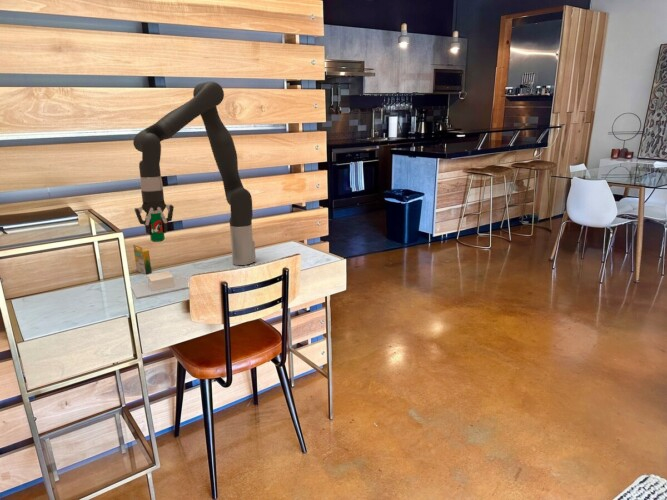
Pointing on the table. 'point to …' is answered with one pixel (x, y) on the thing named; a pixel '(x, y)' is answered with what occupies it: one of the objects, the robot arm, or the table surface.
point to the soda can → (156, 227)
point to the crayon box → (142, 260)
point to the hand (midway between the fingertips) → (157, 233)
